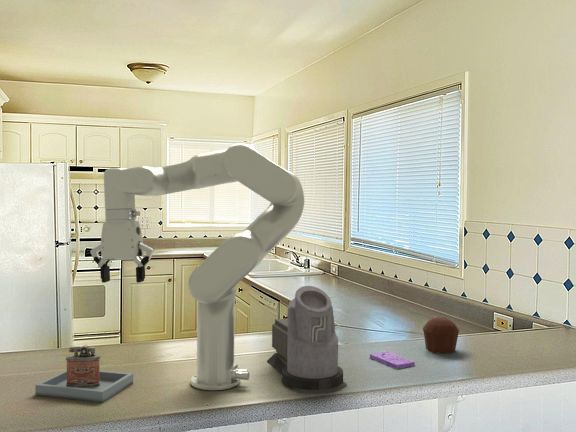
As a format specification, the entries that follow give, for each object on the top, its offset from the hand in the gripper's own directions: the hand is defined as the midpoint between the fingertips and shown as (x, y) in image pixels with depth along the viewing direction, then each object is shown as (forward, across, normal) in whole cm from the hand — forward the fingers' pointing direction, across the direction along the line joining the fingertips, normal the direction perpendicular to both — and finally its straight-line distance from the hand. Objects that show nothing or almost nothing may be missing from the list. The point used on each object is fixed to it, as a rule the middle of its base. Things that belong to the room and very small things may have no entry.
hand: (123, 281), depth 147 cm
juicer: (+28, -45, -14) cm, 54 cm away
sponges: (+29, -68, -32) cm, 80 cm away
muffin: (+29, -83, -48) cm, 100 cm away
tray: (+25, +6, +9) cm, 28 cm away
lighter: (+25, +7, +9) cm, 27 cm away
